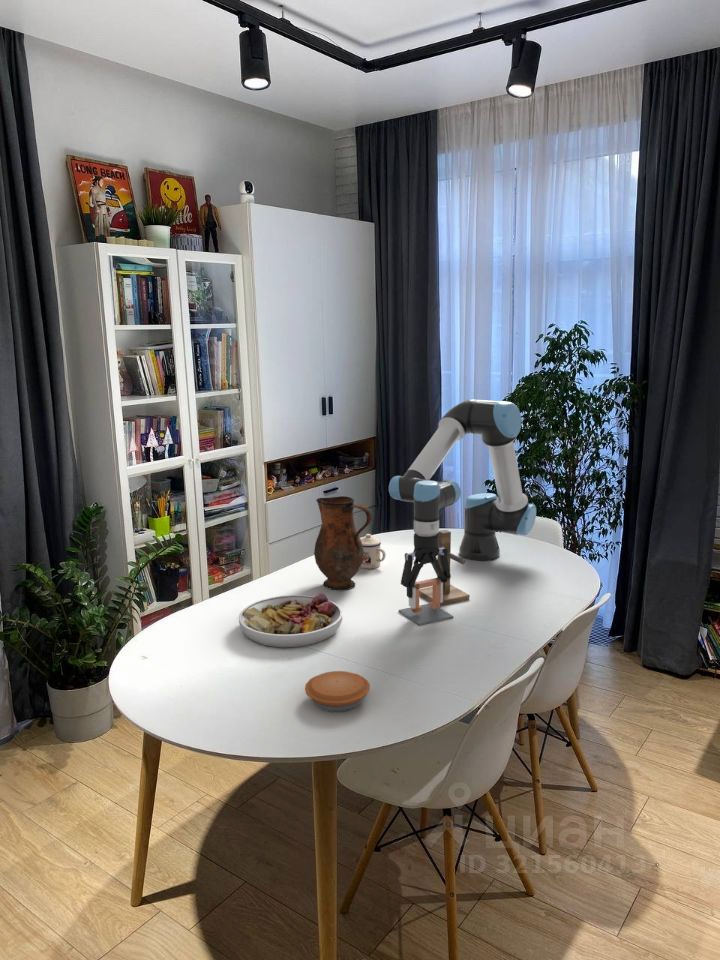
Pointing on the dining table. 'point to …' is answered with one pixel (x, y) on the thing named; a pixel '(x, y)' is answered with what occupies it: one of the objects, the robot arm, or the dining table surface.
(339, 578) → the pitcher
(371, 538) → the teacup with lid
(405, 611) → the coaster
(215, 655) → the dining table surface
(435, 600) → the c link
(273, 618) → the bowl
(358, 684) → the pie
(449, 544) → the hook stand
